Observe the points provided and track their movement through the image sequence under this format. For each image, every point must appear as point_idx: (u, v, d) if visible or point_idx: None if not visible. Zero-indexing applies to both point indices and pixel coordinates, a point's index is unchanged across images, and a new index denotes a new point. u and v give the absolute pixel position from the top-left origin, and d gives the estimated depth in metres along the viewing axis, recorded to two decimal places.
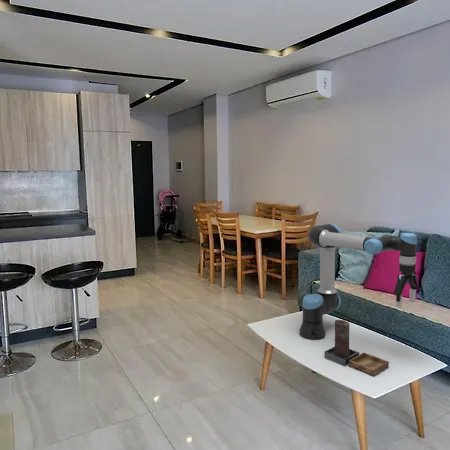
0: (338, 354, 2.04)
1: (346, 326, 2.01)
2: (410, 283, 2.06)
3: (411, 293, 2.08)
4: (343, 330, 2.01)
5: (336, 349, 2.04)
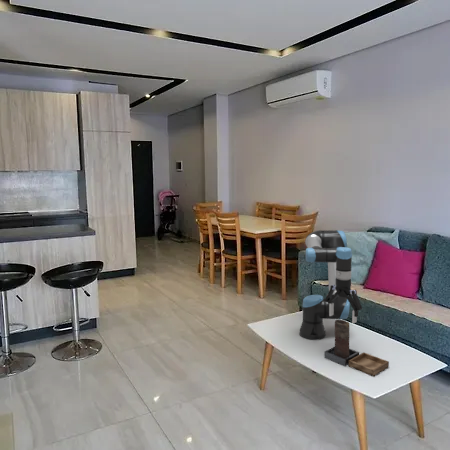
0: (338, 354, 2.04)
1: (346, 326, 2.01)
2: None
3: None
4: (343, 330, 2.01)
5: (336, 349, 2.04)
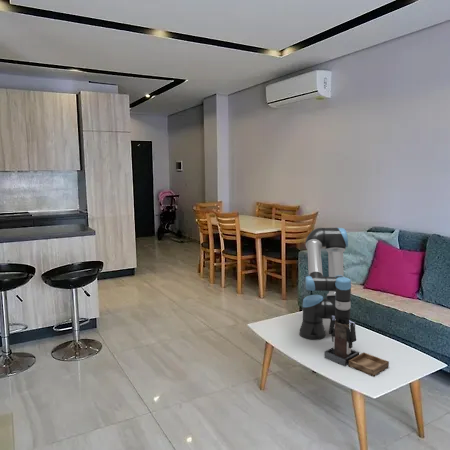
0: (338, 353, 2.04)
1: (346, 326, 2.01)
2: None
3: None
4: (343, 330, 2.01)
5: (336, 349, 2.04)
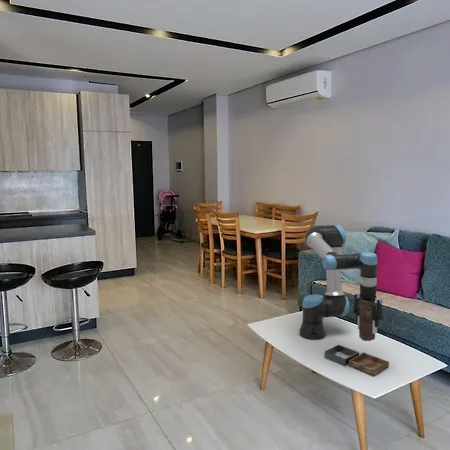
0: (363, 333, 1.93)
1: (372, 304, 1.90)
2: None
3: None
4: (369, 307, 1.90)
5: (361, 328, 1.93)
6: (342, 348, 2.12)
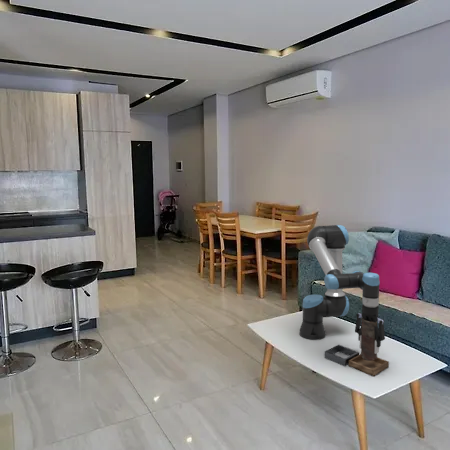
0: (365, 353, 1.93)
1: (374, 324, 1.91)
2: None
3: None
4: (371, 328, 1.91)
5: (363, 348, 1.94)
6: (342, 348, 2.12)
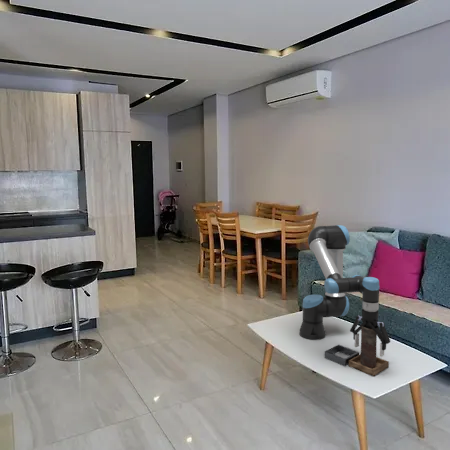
0: (365, 360, 1.94)
1: (374, 331, 1.92)
2: None
3: None
4: (371, 335, 1.92)
5: (363, 355, 1.95)
6: (342, 348, 2.12)
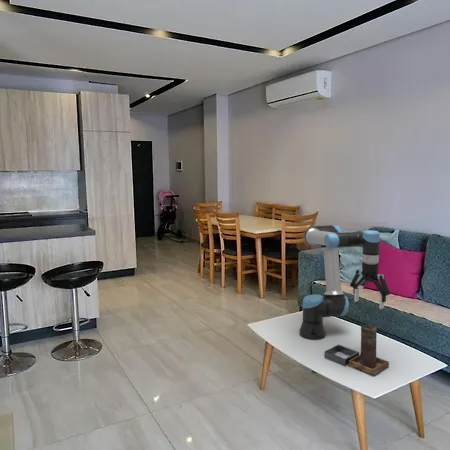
0: (365, 360, 1.94)
1: (373, 331, 1.92)
2: None
3: None
4: (371, 335, 1.92)
5: (362, 355, 1.95)
6: (342, 348, 2.12)
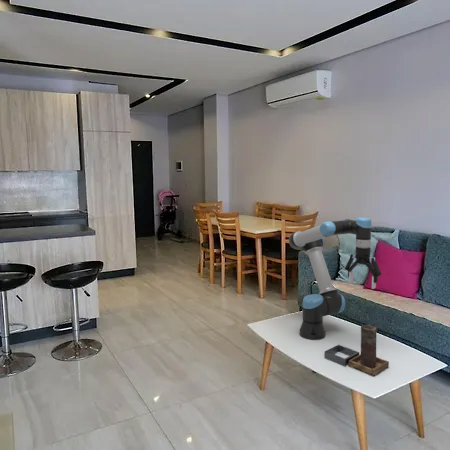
0: (365, 360, 1.94)
1: (373, 331, 1.92)
2: None
3: None
4: (370, 335, 1.92)
5: (362, 355, 1.95)
6: (342, 348, 2.12)
